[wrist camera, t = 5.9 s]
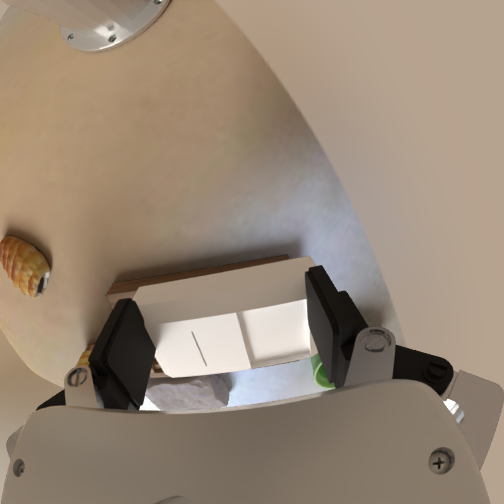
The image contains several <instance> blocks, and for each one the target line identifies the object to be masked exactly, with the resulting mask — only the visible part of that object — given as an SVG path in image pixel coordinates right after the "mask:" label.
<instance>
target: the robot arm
mask: <svg viewBox="0 0 504 504" xmlns="http://www.w3.org/2000/svg"><path fill="white" fill-rule="evenodd" d="M169 1H170V0H0V2H2V3H5V4H8V5H11V6H14V7H17V8H20V9H23V10H25V11H28V12H31V13H33V14H36V15H38V16H41V17H43V18H45V19H48V20H50V21H52V22H55V23H57V24H59V25H60V32H61V35H62V38H63V40H64V41H65V42H66V43H67V44H68V45H69V46H71V47H72V48H74V49H77V50H79V51H83V52H101V51H106V50H110V49H112V48H115V47H118V46H120V45H122V44H124V43H126V42H128V41H130V40H132V39H133V38H135V37H136V36H138V35H140V34H141V33H142V32H144V31H145V30H146V29H147V28H148V27H150V26H151V25H152V24H153V23H154V22H155V21H156V20H157V19H158V18H159V17H160V15H161V14H162V13H163V11H164V10H165V9H166V7H167V5H168V3H169ZM159 3H160V4H159ZM115 39H116V40H115ZM114 40H115V41H114ZM305 286H306V295H307V299H306V301H307V318H308V325H309V328H310V331H311V334H312V337H313V339H314V342H315V345H316V348H317V351H318V353H319V356H320V359H321V362H322V365H323V368H324V371H325V373H326V376H327V379H328V382H329V383H334V386H335V389H332V390H328V391H323V392H319V393H314V394H310V395H305V396H299V397H294V398H289V399H283V400H278V401H272V402H265V403H258V404H251V405H243V406H234V407H224V408H213V409H198V410H172V411H145V410H139V409H140V405H143V402H144V398H145V393H146V389H147V385H148V381H149V376H150V372H151V368H152V364H153V361H154V357H155V353H156V348H155V346H154V344H153V342H152V340H151V338H150V336H149V334H148V332H147V330H146V328H145V326H144V318H143V316H142V314H141V312H140V310H139V307H138V305H137V303H136V301H134V300H132V299H131V298H124V299H119V300H118V301H117V303H116V305H115V307H114V309H113V310H112V312H111V314H110V316H109V318H108V320H107V322H106V324H105V326H104V328H103V329H102V331H101V333H100V335H99V337H98V339H97V341H96V343H95V346H94V348H93V350H92V352H91V354H90V356H89V358H88V361H89V363H90V364H89V366H85V365H79V366H76V367H74V368H72V369H71V370H70V371H69V372H68V373H67V375H66V377H65V381H64V386H65V389H64V390H62V391H61V392H59V393H58V394H56V395H55V396H53V397H52V398H50V399H49V400H47V401H46V402H44V403H43V404H41V405H40V406H39V407H38V408H37V409H36V411H35V412H33V413H32V414H31V415H30V416H29V418H28V419H27V421H26V423H25V424H24V425H23V426H22V427H20V428H19V429H18V430H17V431H16V432H14V433H13V434H12V435H11V436H10V437H9V438H8V440H7V444H6V446H7V451H8V454H9V457H10V459H11V460H10V464H9V468H8V471H7V475H6V479H5V484H4V488H3V494H2V500H1V504H490V501H489V497H488V494H487V491H486V488H485V484H484V481H483V478H482V476H481V473H480V470H481V467H482V465H483V463H484V460H485V458H486V455H487V453H488V450H489V448H490V445H491V442H492V439H493V436H494V434H495V431H496V427H497V424H498V421H499V417H500V414H501V410H502V406H503V402H504V392H503V389H502V388H501V387H500V385H498V384H496V383H494V382H491V381H489V380H486V379H483V378H480V377H478V376H475V375H472V374H470V373H467V372H464V371H462V370H459V372H455V371H453V367H452V365H451V364H450V363H449V362H448V361H447V360H446V359H444V358H441V357H438V356H434V355H430V354H427V353H423V352H420V351H416V350H412V349H409V348H406V347H402V346H399V345H396V341H395V337H394V335H393V333H392V332H390V331H389V330H387V329H385V328H383V327H368V325H367V324H366V322H365V320H364V319H363V317H362V315H361V314H360V312H359V310H358V309H357V307H356V306H355V304H354V302H353V301H352V299H351V298H350V296H349V295H348V293H347V292H346V291H340V292H338V291H337V289H336V288H335V286H334V284H333V283H332V281H331V279H330V278H329V276H328V274H327V273H326V271H325V269H324V268H323V266H322V265H319V266H314V267H309V271H306V272H305Z"/></svg>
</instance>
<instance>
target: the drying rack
mask: <svg viewBox="0 0 504 504" xmlns="http://www.w3.org/2000/svg"><path fill="white" fill-rule="evenodd" d="M285 260H290V259H289V257H288V255H282V256H276V257H270V258H264V259H258V260H253V261H247V262H241V263H235V264H229V265H223V266H217V267H211V268H205V269H199V270H193V271H186V272H180V273H174V274H168V275H162V276H156V277H149V278H143V279H137V280H130V281H124V282H118V283H113V284H112V286H111V288H110V289H109V291H108V292H107V294H106V297H107V299H108V301H109V303H110V305H111V307H112V309H114V307H115V305H116V303H117V301H118V300H119V299H124V298H131V299H132V300H133V298H134V296H135V294H136V292H137V290H138V288H139V287H142V286H148V285H154V284H160V283H165V282H171V281H177V280H182V279H188V278H194V277H199V276H205V275H210V274H216V273H221V272H227V271H232V270H238V269H243V268H248V267H254V266H259V265H264V264H269V263H275V262H280V261H285ZM296 361H299V360H296ZM291 362H295V361H291ZM287 363H289V362H287ZM281 364H284V363H281ZM276 365H279V364H276ZM271 366H273V365H271ZM265 367H267V366H265ZM259 368H261V367H259ZM253 369H254V368H253ZM150 377H151V378H158V377H170V376H168V375H166V374H165V373H164V371H163V370H162V368H161V366H160V365H159V363H158V361H157V360H156V358H155V357H154V361H153V364H152V368H151V372H150Z"/></svg>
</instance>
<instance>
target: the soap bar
mask: <svg viewBox="0 0 504 504" xmlns="http://www.w3.org/2000/svg"><path fill="white" fill-rule="evenodd" d="M314 266H316V265H315V263H314V262H313V260H312V258H311V257H310V256H306V257H301V258H295V259H290V260H285V261H280V262H275V263H269V264H264V265H259V266H254V267H248V268H243V269H238V270H232V271H227V272H221V273H216V274H210V275H205V276H199V277H194V278H188V279H182V280H177V281H171V282H165V283H160V284H154V285H148V286H142V287H139V288H138V290H137V292H136V294H135V296H134V298H133V300H134V301H136V303H137V305H138V307H139V310H140V312H141V314H142V316H143V318H144V326H145V328H146V330H147V332H148V334H149V336H150V338H151V340H152V342H153V344H154V346H155V348H156V353H155V358H156V360H157V361H158V363H159V365H160V366H161V368H162V370H163V371H164V373H165V374H166V375H168V376H170V377H172V378H175V377H188V376H199V375H209V374H218V373H226V372H233V371H240V370H247V369H253V368H259V367H265V366H271V365H276V364H281V363H287V362H291V361H296V360H301V359H305V358H310V357H312V356H314V355H315V354H317V353H318V351H317V348H316V345H315V342H314V339H313V337H312V334H311V331H310V328H309V325H308V318H307V301H306V299H307V295H306V286H305V272H306V271H309V267H314Z"/></svg>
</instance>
